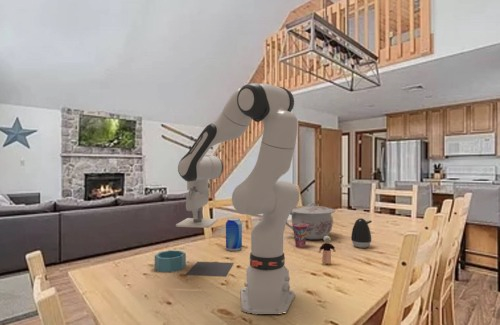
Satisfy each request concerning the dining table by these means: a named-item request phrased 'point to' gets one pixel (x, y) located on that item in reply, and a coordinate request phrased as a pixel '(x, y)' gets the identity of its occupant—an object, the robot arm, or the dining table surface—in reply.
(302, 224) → the cup
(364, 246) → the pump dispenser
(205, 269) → the mat
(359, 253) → the dining table surface
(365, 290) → the dining table surface
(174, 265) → the bowl
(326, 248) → the grandmother figurine
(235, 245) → the beer can
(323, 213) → the chamber pot
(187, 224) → the cover board
